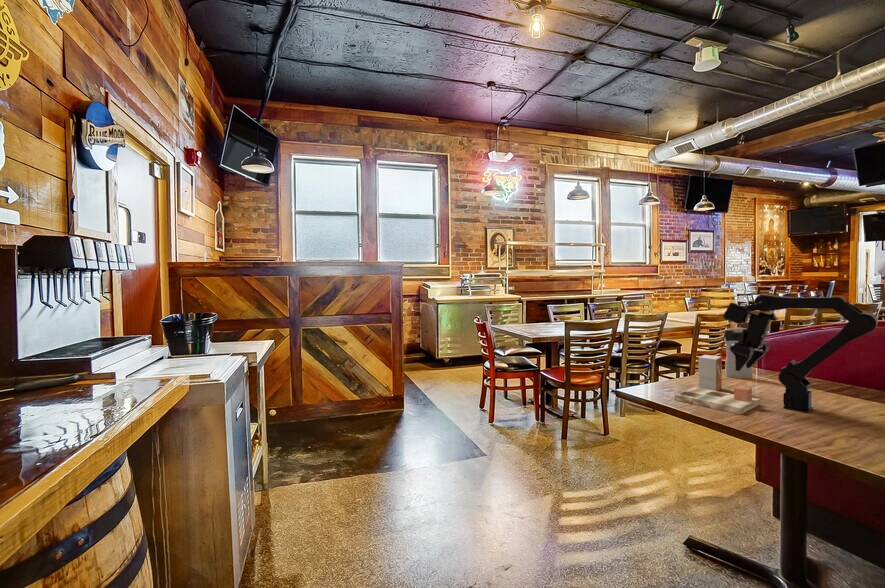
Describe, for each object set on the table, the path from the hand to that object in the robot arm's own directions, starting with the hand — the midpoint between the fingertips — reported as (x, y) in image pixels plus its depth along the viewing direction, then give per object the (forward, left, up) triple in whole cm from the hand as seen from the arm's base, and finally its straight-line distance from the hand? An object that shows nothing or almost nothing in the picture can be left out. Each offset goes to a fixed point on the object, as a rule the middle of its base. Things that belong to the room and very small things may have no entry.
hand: (742, 369), depth 156 cm
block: (-3, +7, -9) cm, 12 cm away
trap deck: (+4, +11, -11) cm, 16 cm away
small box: (+13, -6, -11) cm, 18 cm away
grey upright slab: (+14, -35, -11) cm, 39 cm away
